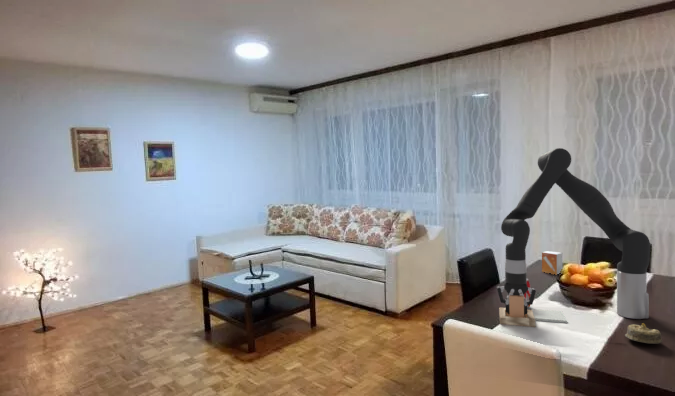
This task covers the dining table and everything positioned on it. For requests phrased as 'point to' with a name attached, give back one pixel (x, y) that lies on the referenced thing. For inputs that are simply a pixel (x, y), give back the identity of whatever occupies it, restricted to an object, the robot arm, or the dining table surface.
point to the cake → (643, 334)
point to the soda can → (527, 292)
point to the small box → (551, 262)
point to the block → (516, 306)
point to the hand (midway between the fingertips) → (516, 313)
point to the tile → (549, 315)
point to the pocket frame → (517, 319)
